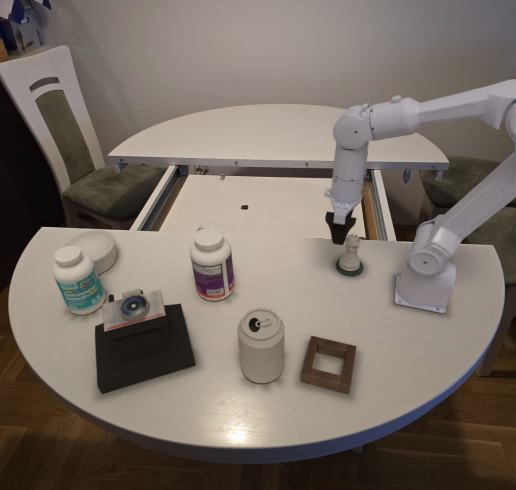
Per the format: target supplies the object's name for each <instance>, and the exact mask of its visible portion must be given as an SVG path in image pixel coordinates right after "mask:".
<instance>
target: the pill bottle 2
mask: <svg viewBox="0 0 516 490" xmlns="http://www.w3.org/2000/svg"><path fill="white" fill-rule="evenodd" d="M189 256H190V262H191V267H192V272H193V278H194V283H195V289H196V292H197V294H198V296H200V297H201V298H203V299H204V300H206V301H211V302H217V301H222V300H224V299H226V298H228V297H229V296H230V295H231V294H232V293H233V292H234V289H235V286H236V285H235V274H234V264H233V254H232V246H231V244H230V242H229V241H228V240H227V239H226V238H225V237H224V233H223V231H222V230H221V229H219V228H217V227H211V226H210V227H204V228H200V229H199V230H198V231H197V232H195V234H194V235H193V243H192V244H191V246H190V249H189Z"/></svg>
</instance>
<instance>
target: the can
mask: <svg viewBox="0 0 516 490" xmlns="http://www.w3.org/2000/svg"><path fill="white" fill-rule="evenodd" d="M237 341H238V342H237V343H238V351H239V360H240V361H239V362H240V367H241V372H242V374H243V375H244V376H245V378H246V379H248V380H249V381H251V382H254V383H257V384H267V383H271V382H273V381H275V380H277V379H278V378H279V377H280V376H281V374H282V373H283V371H284V368H285V324H284V322H283V320H282V319H281V317H280V315H278V314H277V312H276V311H274V310H272V309H270V308H268V307H256V308H255V307H254V308H252V309H250V310H248V311H247V312H245V314H243V316H242V318H241V319H240V320H239V323H238V324H237Z"/></svg>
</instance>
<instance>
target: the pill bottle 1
mask: <svg viewBox="0 0 516 490" xmlns="http://www.w3.org/2000/svg"><path fill="white" fill-rule="evenodd" d="M53 259H54V261H55V262H54V264H53V266H52V270H51V273H52V276H53V278H54V280H55V282H56V285H57V287H58V289H59V292H60V294H61V296H62V299H63V300H64V303H65V305H66V307H67V309H68V311H69V312H71V313H72V314H74V315H77V316H78V315H79V316H83V315H89V314H92V313H94V312H96V311H98V309H101V307H102V304H105V301H106V292H105V289H104V287H103V284H102V281H101V279H100V276H99V274H98V273H97V270H96V267H95V265H94V262H93V260H92V258H91V257H90V256H89V255H87V254H84V253H82V252H81V249H80V248H79V247H77V246H66V247H65V246H63V247H61V248H59V249H58V250H57V251H56V252H55V253H54V256H53Z"/></svg>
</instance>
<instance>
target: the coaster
mask: <svg viewBox="0 0 516 490" xmlns="http://www.w3.org/2000/svg"><path fill="white" fill-rule="evenodd" d="M339 262H340V258H338V259H337V260H336V262H335V269H336V271H337V272H338V273H339V274H341V275H343V276H346V277H357V276H360V275H361V274H362V273H363V271H364V264H363V263H362V261H360V263H359V264H360V266H359V268H358V269H357V270H355V271H345V270H344V269H342V268H341V266H340V265H339Z"/></svg>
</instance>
